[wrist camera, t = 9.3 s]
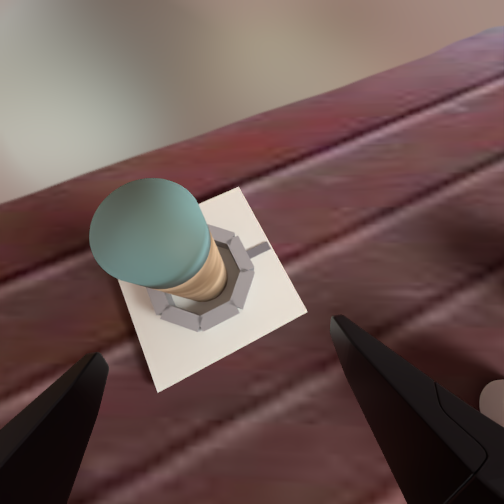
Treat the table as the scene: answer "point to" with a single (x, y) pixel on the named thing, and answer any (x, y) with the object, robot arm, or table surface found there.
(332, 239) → the table surface
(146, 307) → the hub plate
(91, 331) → the table surface
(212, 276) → the teal capped wooden cylinder
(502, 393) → the cup
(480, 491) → the robot arm
